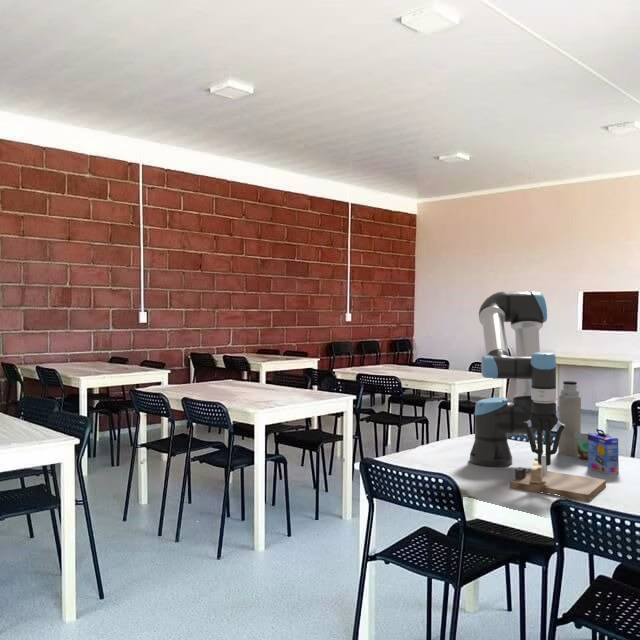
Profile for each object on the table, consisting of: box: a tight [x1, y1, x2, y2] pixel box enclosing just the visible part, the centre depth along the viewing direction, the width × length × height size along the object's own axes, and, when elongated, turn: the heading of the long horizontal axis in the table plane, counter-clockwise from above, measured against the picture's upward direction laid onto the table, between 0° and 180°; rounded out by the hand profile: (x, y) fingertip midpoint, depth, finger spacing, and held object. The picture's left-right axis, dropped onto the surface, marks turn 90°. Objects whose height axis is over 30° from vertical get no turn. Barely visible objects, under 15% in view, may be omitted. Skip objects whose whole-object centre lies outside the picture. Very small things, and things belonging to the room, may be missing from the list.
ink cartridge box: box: [587, 428, 620, 475], centre depth 231 cm, size 10×6×14 cm, turn 16°
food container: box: [574, 431, 610, 462], centre depth 246 cm, size 12×6×10 cm, turn 69°
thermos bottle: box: [557, 380, 582, 457], centre depth 256 cm, size 8×8×28 cm
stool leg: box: [530, 457, 543, 484], centre depth 215 cm, size 16×3×4 cm, turn 157°
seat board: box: [509, 466, 607, 502], centre depth 211 cm, size 24×20×5 cm
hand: (544, 475), depth 211 cm, fingers closed
